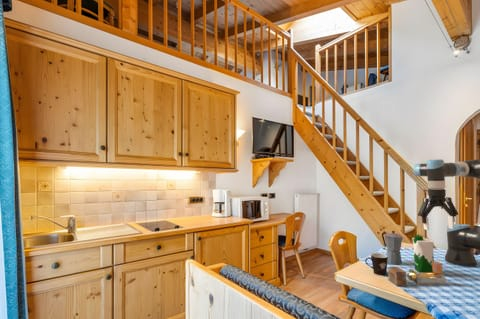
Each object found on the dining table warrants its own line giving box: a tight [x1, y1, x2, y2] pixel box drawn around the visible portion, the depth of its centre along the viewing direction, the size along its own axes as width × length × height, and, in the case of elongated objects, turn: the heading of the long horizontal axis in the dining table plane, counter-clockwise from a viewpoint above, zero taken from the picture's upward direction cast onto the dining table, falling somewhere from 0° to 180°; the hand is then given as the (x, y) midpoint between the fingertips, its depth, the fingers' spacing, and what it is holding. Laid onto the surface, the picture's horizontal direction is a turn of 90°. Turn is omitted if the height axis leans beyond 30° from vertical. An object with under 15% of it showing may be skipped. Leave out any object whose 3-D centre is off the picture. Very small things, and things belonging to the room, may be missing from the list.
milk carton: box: [412, 234, 435, 273], centre depth 155 cm, size 9×9×20 cm
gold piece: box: [407, 261, 444, 281], centre depth 141 cm, size 16×4×9 cm, turn 90°
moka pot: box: [381, 230, 404, 266], centre depth 171 cm, size 10×15×20 cm, turn 24°
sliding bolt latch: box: [408, 268, 447, 286], centre depth 141 cm, size 14×7×6 cm, turn 90°
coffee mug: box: [364, 252, 388, 276], centre depth 155 cm, size 12×9×10 cm
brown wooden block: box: [387, 266, 408, 287], centre depth 141 cm, size 5×7×7 cm
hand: (438, 229), depth 143 cm, fingers open, 13 cm apart
